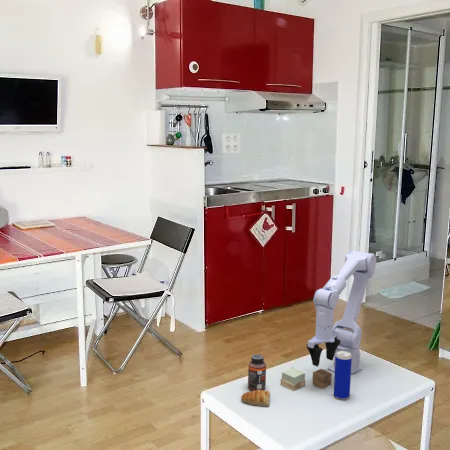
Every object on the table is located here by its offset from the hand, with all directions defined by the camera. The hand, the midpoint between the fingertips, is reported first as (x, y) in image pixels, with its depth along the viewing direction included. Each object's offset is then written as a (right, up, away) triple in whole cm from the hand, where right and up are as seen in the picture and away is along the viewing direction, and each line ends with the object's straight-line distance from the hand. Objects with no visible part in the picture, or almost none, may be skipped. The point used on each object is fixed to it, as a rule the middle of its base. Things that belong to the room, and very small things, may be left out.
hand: (322, 362), depth 186 cm
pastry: (-23, -10, -11) cm, 27 cm away
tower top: (-10, -6, 0) cm, 12 cm away
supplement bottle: (-23, -8, -2) cm, 24 cm away
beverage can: (+5, -10, -7) cm, 13 cm away
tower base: (-10, -8, +1) cm, 13 cm away
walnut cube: (0, -8, +1) cm, 8 cm away
